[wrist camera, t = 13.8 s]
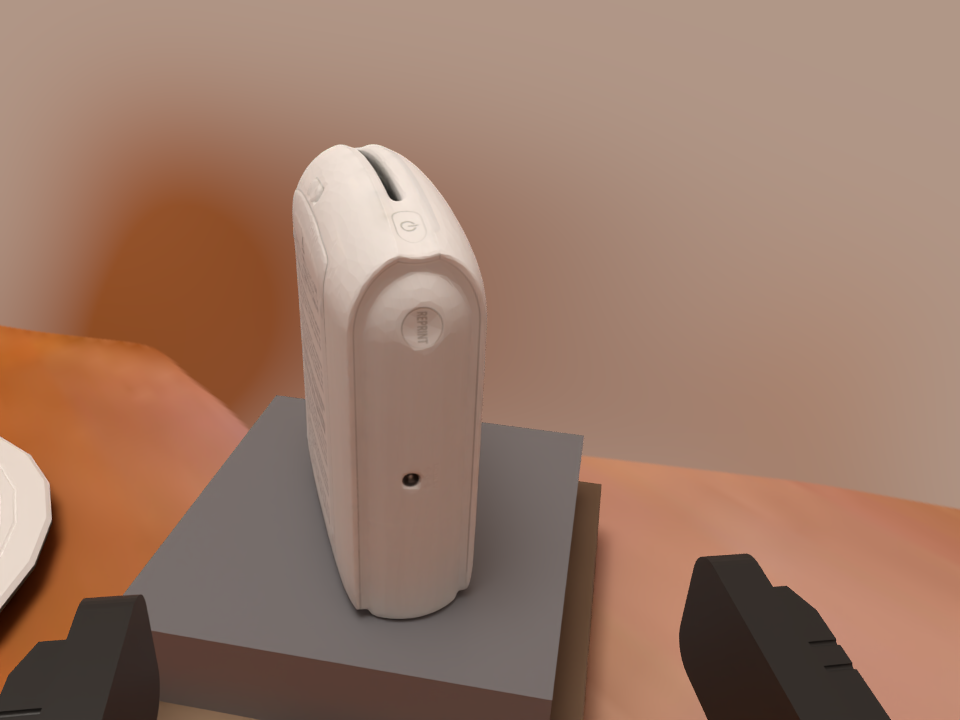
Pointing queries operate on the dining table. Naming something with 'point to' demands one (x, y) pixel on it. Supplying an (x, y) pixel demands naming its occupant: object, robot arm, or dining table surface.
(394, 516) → the photo printer
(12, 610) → the dining table surface
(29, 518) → the plate
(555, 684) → the base brick
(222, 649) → the top brick
